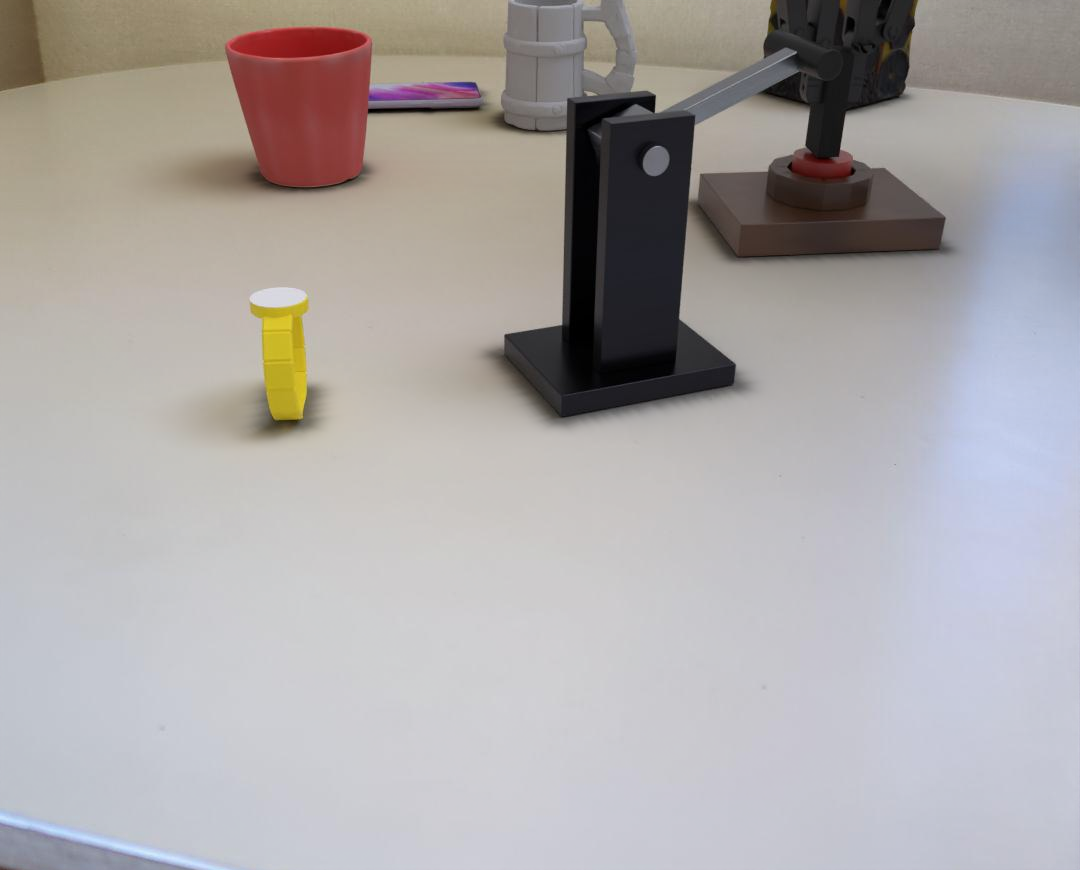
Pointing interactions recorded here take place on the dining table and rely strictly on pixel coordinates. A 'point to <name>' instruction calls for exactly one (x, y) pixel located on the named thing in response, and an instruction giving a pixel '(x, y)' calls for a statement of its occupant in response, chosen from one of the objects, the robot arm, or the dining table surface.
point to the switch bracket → (622, 266)
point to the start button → (821, 165)
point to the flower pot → (304, 101)
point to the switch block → (817, 212)
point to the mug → (559, 59)
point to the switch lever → (749, 79)
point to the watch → (283, 349)
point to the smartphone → (425, 95)
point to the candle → (881, 68)
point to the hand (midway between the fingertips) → (821, 151)
